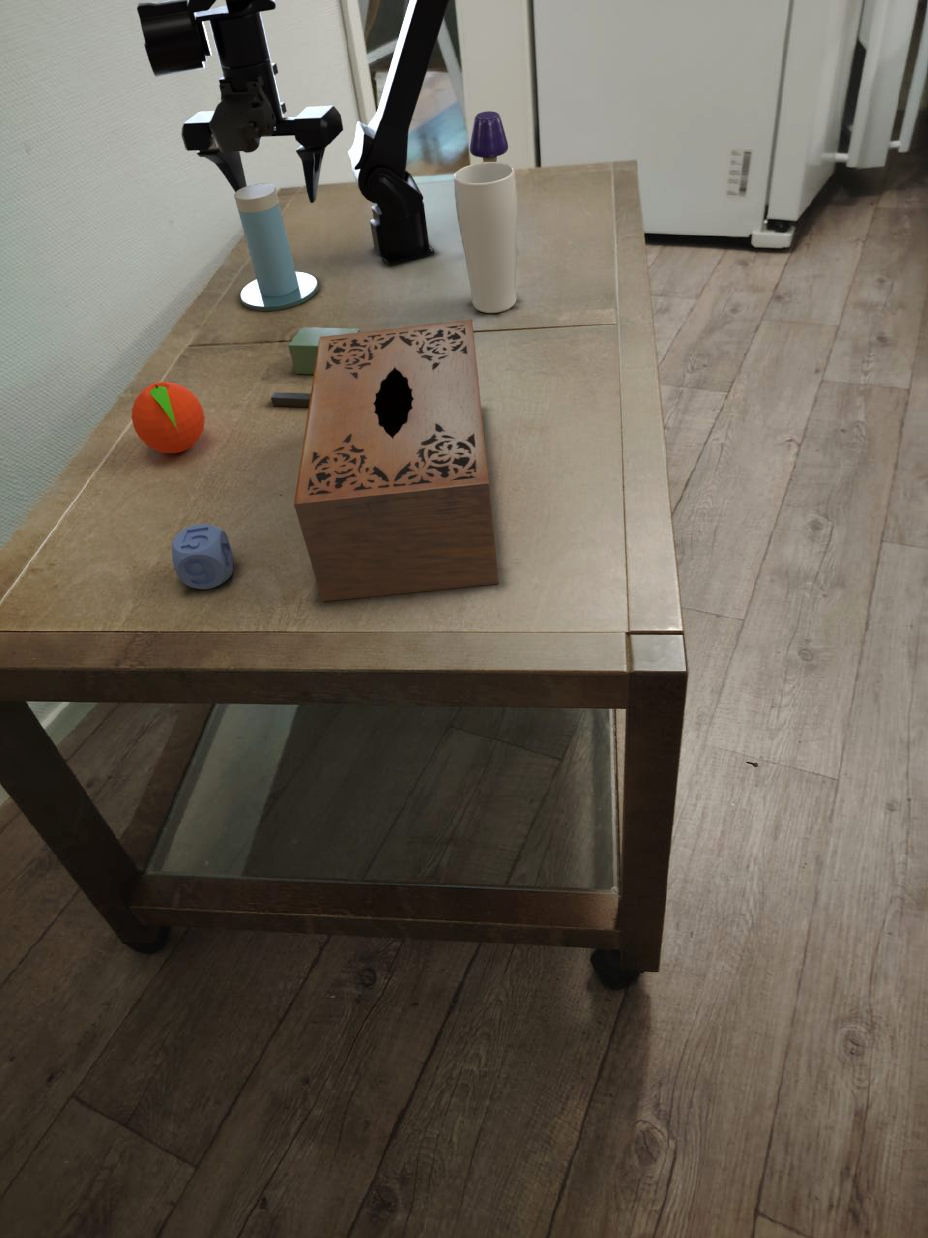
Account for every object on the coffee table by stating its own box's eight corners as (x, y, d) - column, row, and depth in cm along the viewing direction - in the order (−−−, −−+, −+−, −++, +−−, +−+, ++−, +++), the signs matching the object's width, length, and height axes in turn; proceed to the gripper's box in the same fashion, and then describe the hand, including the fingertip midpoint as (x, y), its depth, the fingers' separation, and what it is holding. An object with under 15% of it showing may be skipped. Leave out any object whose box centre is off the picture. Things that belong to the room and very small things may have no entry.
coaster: (306, 269, 120) (305, 264, 119) (327, 297, 113) (326, 292, 112) (234, 288, 118) (232, 283, 117) (250, 318, 111) (249, 313, 110)
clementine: (225, 455, 89) (203, 392, 84) (158, 480, 88) (132, 418, 83) (202, 420, 95) (180, 359, 90) (138, 443, 93) (112, 382, 88)
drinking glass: (458, 315, 106) (443, 182, 95) (478, 289, 110) (466, 160, 100) (511, 320, 104) (502, 185, 93) (530, 293, 108) (524, 161, 97)
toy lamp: (519, 248, 117) (512, 108, 106) (506, 263, 115) (496, 121, 103) (486, 245, 119) (475, 107, 107) (472, 260, 116) (459, 119, 105)
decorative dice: (234, 555, 78) (221, 519, 75) (231, 586, 75) (217, 550, 72) (189, 562, 78) (174, 527, 75) (184, 593, 75) (169, 557, 72)
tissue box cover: (498, 583, 72) (488, 483, 65) (322, 601, 73) (293, 504, 66) (481, 411, 90) (472, 319, 83) (340, 427, 91) (319, 336, 84)
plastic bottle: (274, 214, 117) (229, 169, 105) (310, 214, 116) (268, 168, 104) (266, 305, 117) (220, 271, 106) (301, 306, 116) (259, 271, 104)
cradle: (308, 355, 103) (301, 326, 100) (365, 357, 101) (359, 328, 98) (272, 405, 95) (264, 376, 93) (333, 408, 94) (326, 379, 91)
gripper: (139, 86, 98) (185, 229, 109) (296, 77, 94) (327, 227, 105) (183, 57, 106) (222, 194, 117) (330, 48, 102) (356, 191, 113)
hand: (279, 202), depth 113 cm, fingers open, 9 cm apart
